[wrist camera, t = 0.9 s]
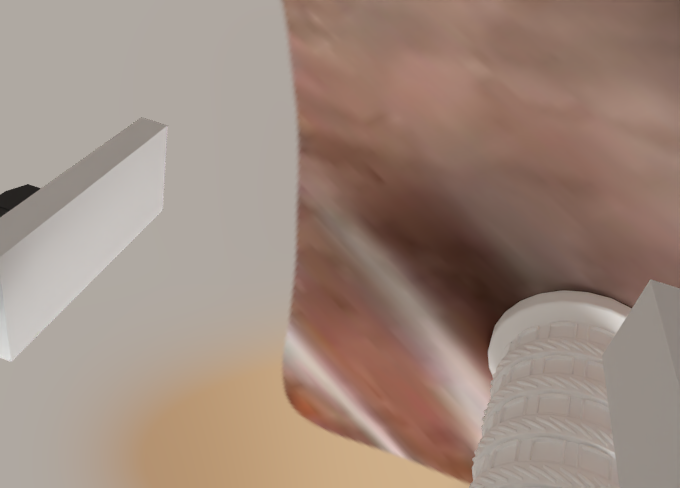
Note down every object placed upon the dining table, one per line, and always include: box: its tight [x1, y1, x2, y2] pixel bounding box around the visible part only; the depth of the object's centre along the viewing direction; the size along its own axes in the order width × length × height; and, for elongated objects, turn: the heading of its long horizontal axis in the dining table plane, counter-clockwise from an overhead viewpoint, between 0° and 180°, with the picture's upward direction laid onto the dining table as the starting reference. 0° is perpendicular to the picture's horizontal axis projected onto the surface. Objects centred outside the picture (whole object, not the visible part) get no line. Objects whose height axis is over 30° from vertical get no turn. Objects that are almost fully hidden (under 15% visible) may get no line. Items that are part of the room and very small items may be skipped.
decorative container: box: [469, 290, 632, 488], centre depth 38 cm, size 12×12×18 cm
